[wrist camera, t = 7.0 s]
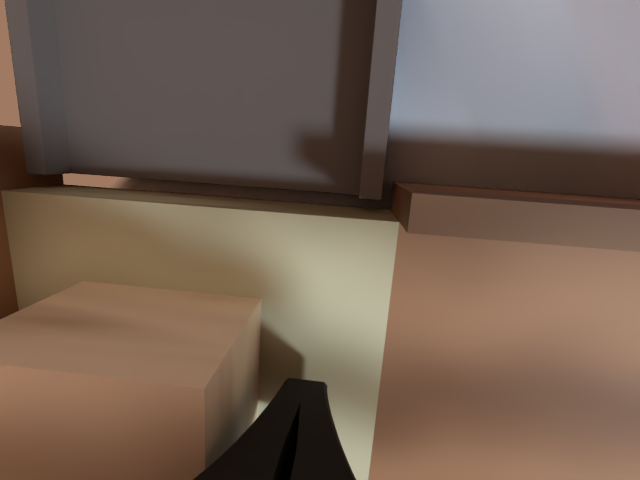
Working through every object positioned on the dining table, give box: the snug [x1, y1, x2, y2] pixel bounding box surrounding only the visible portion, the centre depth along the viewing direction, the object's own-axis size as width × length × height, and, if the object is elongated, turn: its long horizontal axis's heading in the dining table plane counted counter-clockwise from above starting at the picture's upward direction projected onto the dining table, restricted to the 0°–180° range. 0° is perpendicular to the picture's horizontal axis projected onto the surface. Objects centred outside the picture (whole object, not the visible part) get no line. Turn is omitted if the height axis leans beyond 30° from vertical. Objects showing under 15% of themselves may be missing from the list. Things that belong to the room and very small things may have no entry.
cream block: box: [0, 281, 261, 480], centre depth 10 cm, size 6×6×4 cm
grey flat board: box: [5, 0, 402, 200], centre depth 14 cm, size 29×12×2 cm, turn 176°
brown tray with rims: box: [0, 125, 640, 480], centre depth 12 cm, size 16×32×4 cm, turn 86°
